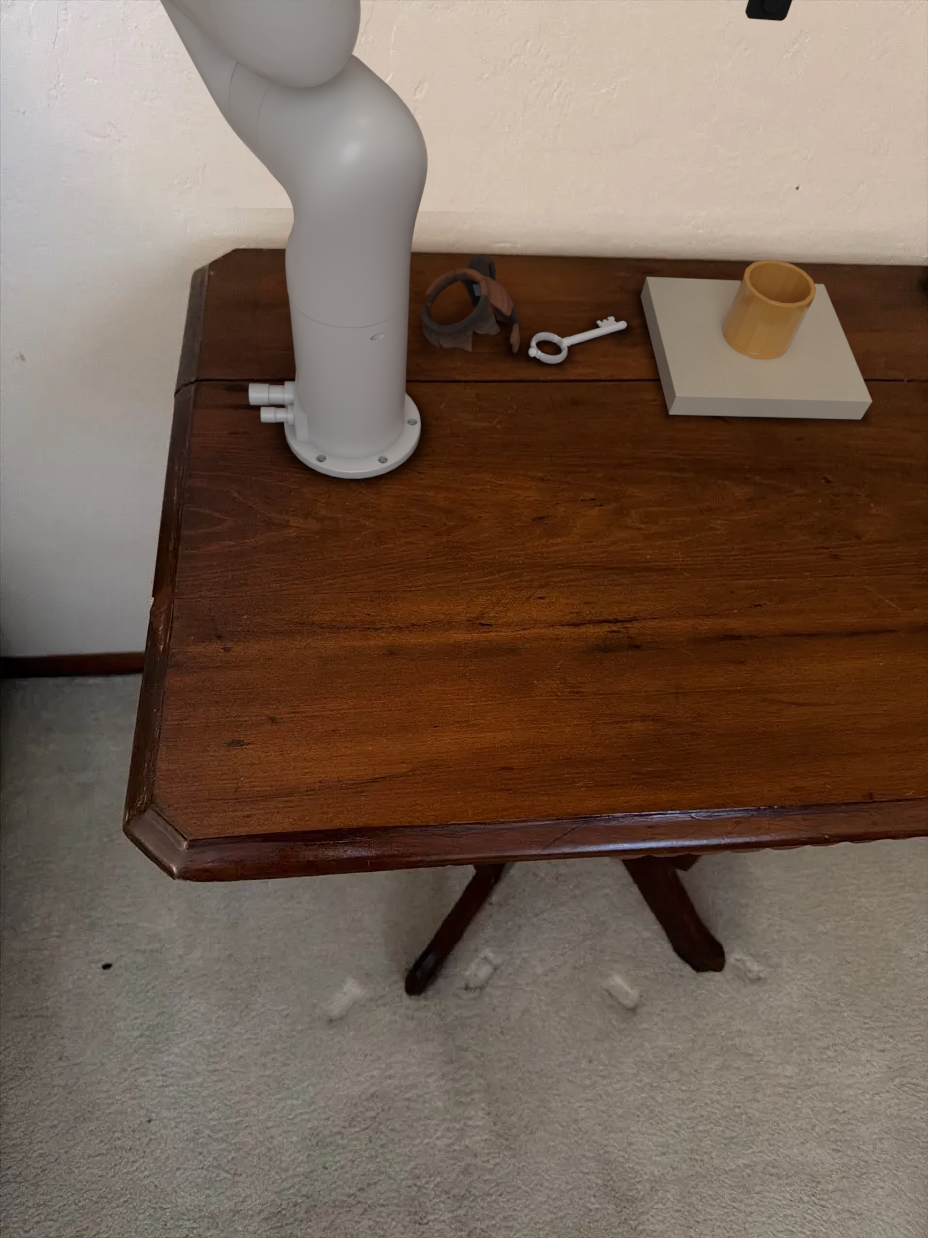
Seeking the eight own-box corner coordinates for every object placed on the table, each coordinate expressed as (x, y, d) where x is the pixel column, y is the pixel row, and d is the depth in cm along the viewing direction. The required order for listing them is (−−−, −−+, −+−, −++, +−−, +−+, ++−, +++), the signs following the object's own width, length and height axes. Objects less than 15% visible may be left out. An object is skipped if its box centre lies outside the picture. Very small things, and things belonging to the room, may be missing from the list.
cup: (730, 358, 89) (753, 304, 83) (716, 312, 92) (737, 258, 87) (796, 360, 89) (824, 307, 84) (780, 314, 93) (805, 261, 88)
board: (668, 414, 87) (676, 395, 85) (640, 295, 97) (646, 276, 95) (860, 419, 89) (872, 401, 87) (814, 302, 99) (823, 283, 97)
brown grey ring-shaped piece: (524, 377, 89) (494, 328, 82) (440, 391, 93) (404, 345, 86) (532, 278, 93) (504, 223, 85) (450, 295, 96) (417, 244, 89)
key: (518, 344, 91) (539, 370, 89) (519, 336, 90) (540, 362, 88) (614, 315, 94) (636, 340, 93) (616, 308, 94) (638, 332, 92)
